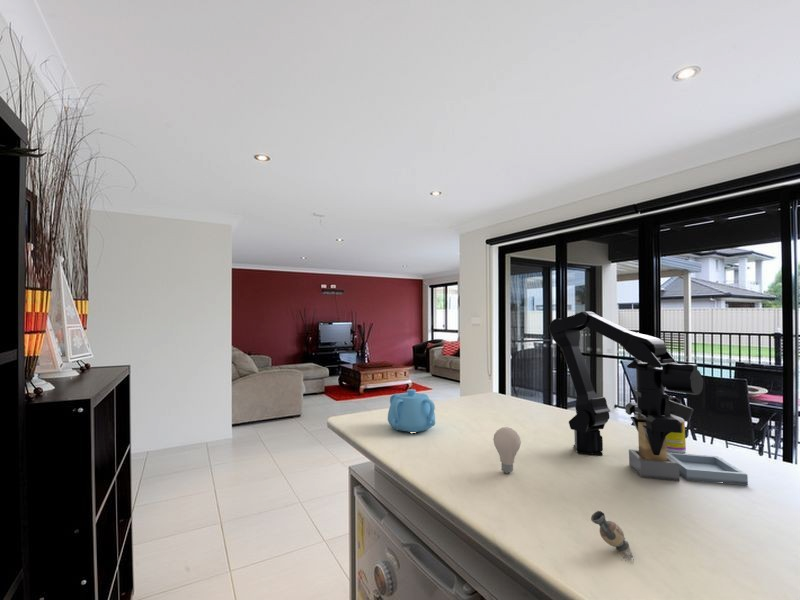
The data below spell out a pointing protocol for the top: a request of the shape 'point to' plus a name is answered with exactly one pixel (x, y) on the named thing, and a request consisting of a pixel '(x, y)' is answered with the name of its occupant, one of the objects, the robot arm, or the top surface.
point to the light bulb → (507, 447)
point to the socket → (654, 467)
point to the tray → (708, 469)
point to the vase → (612, 534)
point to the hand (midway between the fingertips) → (652, 451)
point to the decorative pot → (411, 411)
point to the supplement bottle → (676, 439)
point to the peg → (645, 447)
